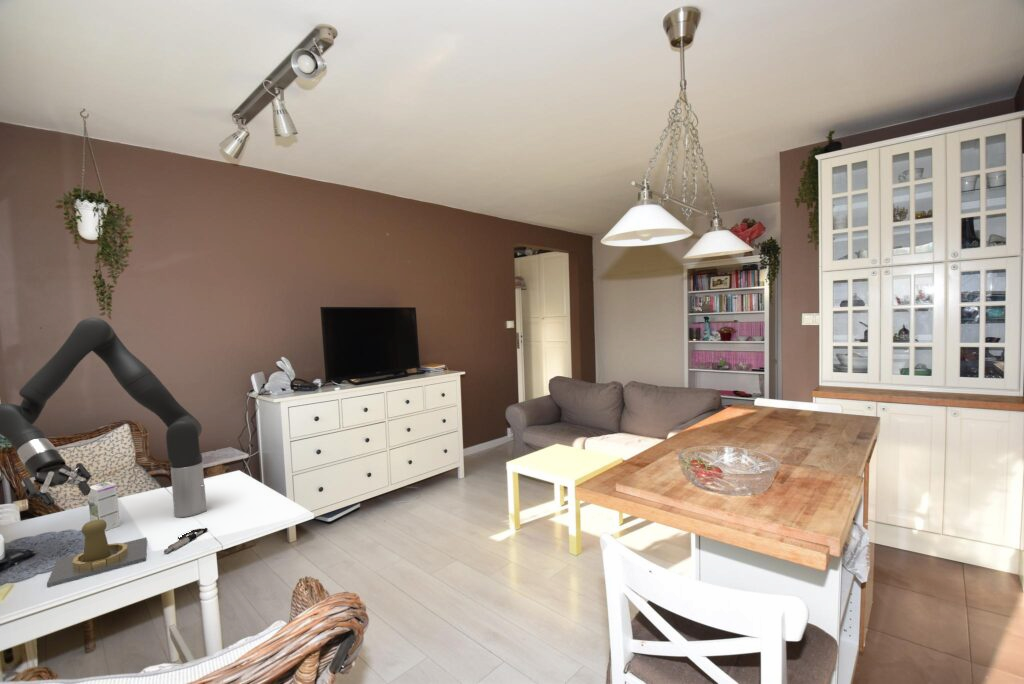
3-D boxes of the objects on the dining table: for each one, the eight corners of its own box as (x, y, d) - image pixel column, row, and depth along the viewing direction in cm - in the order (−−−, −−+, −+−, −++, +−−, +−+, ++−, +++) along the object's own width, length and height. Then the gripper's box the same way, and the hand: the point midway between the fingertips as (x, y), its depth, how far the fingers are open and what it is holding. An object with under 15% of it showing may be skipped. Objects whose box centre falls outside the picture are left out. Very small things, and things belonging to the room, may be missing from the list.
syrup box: (120, 525, 158) (117, 482, 157) (99, 533, 152) (95, 489, 151) (111, 522, 160) (107, 480, 159) (90, 530, 155) (86, 486, 154)
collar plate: (146, 540, 146) (146, 532, 146) (145, 560, 133) (145, 552, 133) (57, 562, 134) (56, 553, 134) (47, 587, 121) (46, 577, 121)
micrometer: (191, 531, 153) (190, 523, 152) (210, 532, 151) (210, 524, 151) (148, 554, 138) (147, 545, 138) (169, 555, 137) (168, 547, 136)
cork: (94, 555, 135) (90, 517, 135) (116, 553, 136) (113, 516, 135) (76, 566, 129) (73, 527, 129) (100, 564, 130) (96, 525, 129)
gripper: (14, 456, 131) (44, 500, 128) (75, 442, 144) (103, 482, 142) (4, 474, 133) (34, 517, 130) (65, 458, 146) (93, 498, 143)
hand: (70, 499), depth 136 cm, fingers open, 8 cm apart
